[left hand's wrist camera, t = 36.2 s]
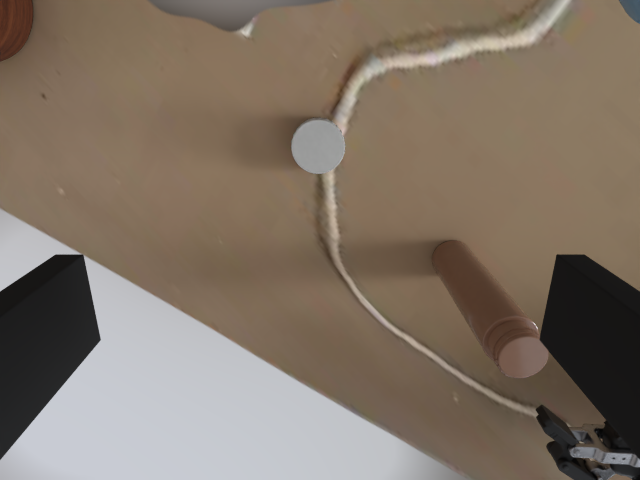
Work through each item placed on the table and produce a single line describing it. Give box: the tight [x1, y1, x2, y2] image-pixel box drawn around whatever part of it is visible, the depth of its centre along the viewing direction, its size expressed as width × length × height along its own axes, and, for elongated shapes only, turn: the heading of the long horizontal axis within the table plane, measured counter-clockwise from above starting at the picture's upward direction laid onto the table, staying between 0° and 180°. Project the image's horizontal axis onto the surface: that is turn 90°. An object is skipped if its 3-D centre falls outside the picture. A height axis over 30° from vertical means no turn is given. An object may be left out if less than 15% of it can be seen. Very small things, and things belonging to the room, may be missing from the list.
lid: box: [291, 117, 345, 174], centre depth 42 cm, size 5×5×2 cm
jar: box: [432, 240, 549, 378], centre depth 39 cm, size 4×4×18 cm
